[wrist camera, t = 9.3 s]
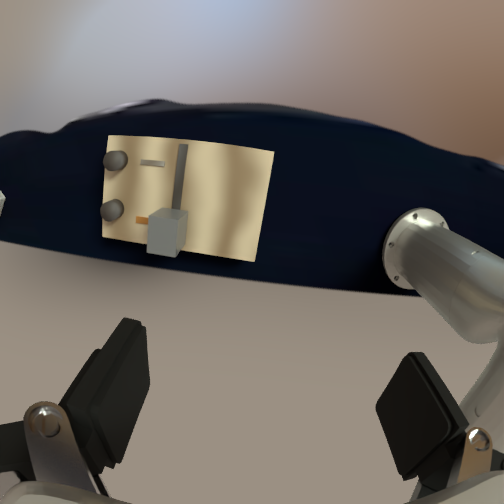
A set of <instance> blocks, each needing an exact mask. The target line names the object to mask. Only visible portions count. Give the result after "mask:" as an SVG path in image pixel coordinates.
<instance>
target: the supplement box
mask: <svg viewBox="0 0 504 504" xmlns="http://www.w3.org/2000/svg"><path fill="white" fill-rule="evenodd" d="M4 201H5V196H4V195H3V194H2V192H1V191H0V215H1V211H2V208H3V205H4Z"/></svg>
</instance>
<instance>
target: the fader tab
mask: <svg viewBox="0 0 504 504" xmlns="http://www.w3.org/2000/svg"><path fill="white" fill-rule="evenodd" d="M187 220H188V211H185V210H178V209H170V208H163V207H162V208H160V209H159V210H157V211H155V212H154V213H152V214H150V215H149V218H148V236H147V253H152V254H158V255H164V256H170V257H176V256H177V255H178V253H179V252H180V250H181V249H182V248H183V246H184V245H185V240H186V230H187Z"/></svg>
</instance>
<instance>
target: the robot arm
mask: <svg viewBox="0 0 504 504" xmlns="http://www.w3.org/2000/svg"><path fill="white" fill-rule="evenodd" d="M389 243H390V244H389ZM382 261H383V267H384V269H385V272H386V274H387V275H388V277H389V278H390V280H391V281H392V282H393V283H395V284H396V285H397V286H399V287H401V288H404V289H415V290H416V291H417V292H418V293H419V294H420V295H421V296H422V297H423V298H424V299H425V300H426V301H427V302H428V303H429V304H430V305H431V306H432V307H433V308H434V309H435V310H436V311H437V312H438V313H439V314H440V315H441V316H442V317H443V318H444V319H445V321H447V322H448V324H449V325H450V326H451V327H452V328H453V329H454V330H455V331H456V332H457V333H458V334H459V335H460V336H461V337H462V338H463V339H465V340H466V341H468V342H471V343H476V344H485V343H492V342H497V341H498V345H497V348H496V350H495V352H494V354H493V356H492V357H491V359H490V361H489V363H488V365H487V366H486V368H485V369H484V371H483V372H482V374H481V375H480V377H479V378H478V380H477V381H476V382H475V384H474V385H473V387H472V388H471V389H470V391H469V392H468V393H467V395H466V396H465V398H464V399H463V400H462V402H461V403H460V405H459V406H458V404H457V402H456V401H455V399H454V398H453V396H452V394H451V393H450V391H449V390H448V388H447V387H446V385H445V384H444V382H443V381H442V379H441V378H440V376H439V375H438V373H437V372H436V370H435V369H434V367H433V366H432V364H431V363H430V361H429V360H428V359H427V357H426V356H425V354H424V353H422V352H410V353H408V354H407V355H406V356H405V357H404V358H403V359H402V361H401V363H400V365H399V367H398V368H397V370H396V372H395V374H394V375H393V377H392V379H391V380H390V382H389V384H388V385H387V387H386V388H385V390H384V392H383V393H382V395H381V397H380V398H379V399H378V401H377V404H376V412H377V415H378V417H379V420H380V423H381V425H382V428H383V431H384V433H385V436H386V438H387V441H388V444H389V447H390V450H391V453H392V455H393V458H394V461H395V464H396V467H397V470H398V472H399V474H400V475H402V478H403V481H406V480H409V479H413V478H415V477H416V476H417V475H418V477H419V480H418V482H417V485H416V487H415V490H414V492H413V494H412V497H411V499H410V501H409V502H408V503H405V504H504V259H502V258H500V257H498V256H497V255H494V254H493V253H491V252H489V251H488V250H486V249H484V248H482V247H480V246H479V245H477V244H475V243H473V242H471V241H469V240H467V239H466V238H464V237H462V236H460V235H458V234H456V233H454V232H452V231H450V230H449V228H448V226H447V223H446V221H445V220H444V219H443V217H442V216H441V215H439V214H438V213H437V212H435V211H433V210H430V209H427V208H416V209H412V210H410V211H407V212H406V213H404V214H403V215H401V216H400V217H399V218H398V219H397V220H396V221H395V222H394V223H393V225H392V226H391V228H390V229H389V231H388V233H387V235H386V238H385V241H384V244H383V250H382ZM149 386H150V376H149V366H148V353H147V336H146V327H145V326H142V325H141V322H140V321H138V320H134V319H129V318H123V319H122V320H121V322H120V323H119V325H118V326H117V327H116V329H115V330H114V332H113V333H112V334H111V336H110V337H109V339H108V340H107V342H106V343H105V345H104V346H103V348H102V349H96V350H95V351H94V352H93V353H92V354H91V356H90V357H89V359H88V360H87V361H86V363H85V364H84V366H83V368H82V369H81V370H80V372H79V373H78V375H77V376H76V378H75V379H74V381H73V382H72V384H71V385H70V387H69V388H68V390H67V392H66V393H65V395H64V396H63V398H62V399H61V401H60V403H59V404H58V405H57V404H55V403H52V402H48V401H45V402H44V401H41V402H38V403H35V404H33V405H32V406H30V407H29V408H28V409H27V411H26V412H25V415H24V417H23V421H18V422H13V423H8V424H2V425H0V500H1V501H0V504H131V503H127V502H123V501H120V500H116V499H113V498H112V497H111V496H110V494H109V492H108V490H107V488H106V486H105V484H104V482H103V480H102V478H101V476H100V474H101V473H102V472H103V469H104V467H105V466H106V467H109V468H112V469H114V467H115V464H116V463H119V464H120V463H121V462H122V459H123V457H124V454H125V451H126V448H127V445H128V442H129V440H130V437H131V435H132V432H133V429H134V426H135V424H136V421H137V418H138V416H139V413H140V410H141V408H142V405H143V403H144V400H145V398H146V395H147V393H148V390H149ZM3 495H4V496H3Z"/></svg>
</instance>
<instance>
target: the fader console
mask: <svg viewBox="0 0 504 504" xmlns="http://www.w3.org/2000/svg"><path fill="white" fill-rule="evenodd" d="M273 156H274V152H272V151H266V150H260V149H254V148H248V147H241V146H234V145H227V144H219V143H211V142H203V141H193V140H183V139H171V138H157V137H140V136H109V137H108V145H107V153H106V155H105V156H104V159H103V164H104V167H105V176H104V192H103V205H102V206H101V209H100V213H101V216H102V218H103V237H107V238H113V239H119V240H124V241H130V242H136V243H142V244H147V236H148V218H149V215H150V214H152V213H154V212H155V211H157V210H159V209H160V208H162V207H163V208H170V209H178V210H185V211H188V220H187V230H186V240H185V245H184V246H183V248H182V249H181V250H184V251H190V252H196V253H202V254H208V255H214V256H221V257H227V258H233V259H239V260H245V261H252V262H255V256H256V251H257V245H258V240H259V234H260V229H261V223H262V218H263V212H264V207H265V201H266V195H267V190H268V184H269V179H270V173H271V167H272V162H273Z"/></svg>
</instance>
